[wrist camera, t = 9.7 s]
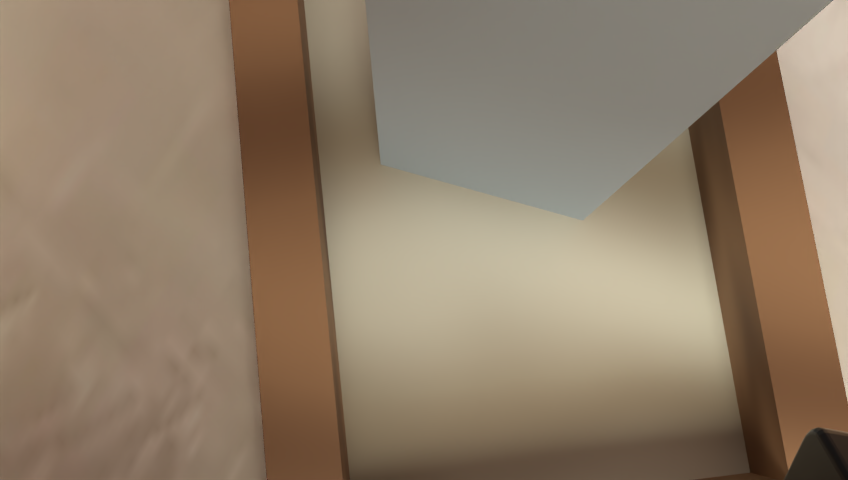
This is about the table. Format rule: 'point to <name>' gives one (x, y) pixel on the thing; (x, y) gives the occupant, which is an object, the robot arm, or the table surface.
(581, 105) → the tall grey pillar block
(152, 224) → the table surface
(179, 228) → the table surface
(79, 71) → the table surface
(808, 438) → the robot arm
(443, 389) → the wooden frame
